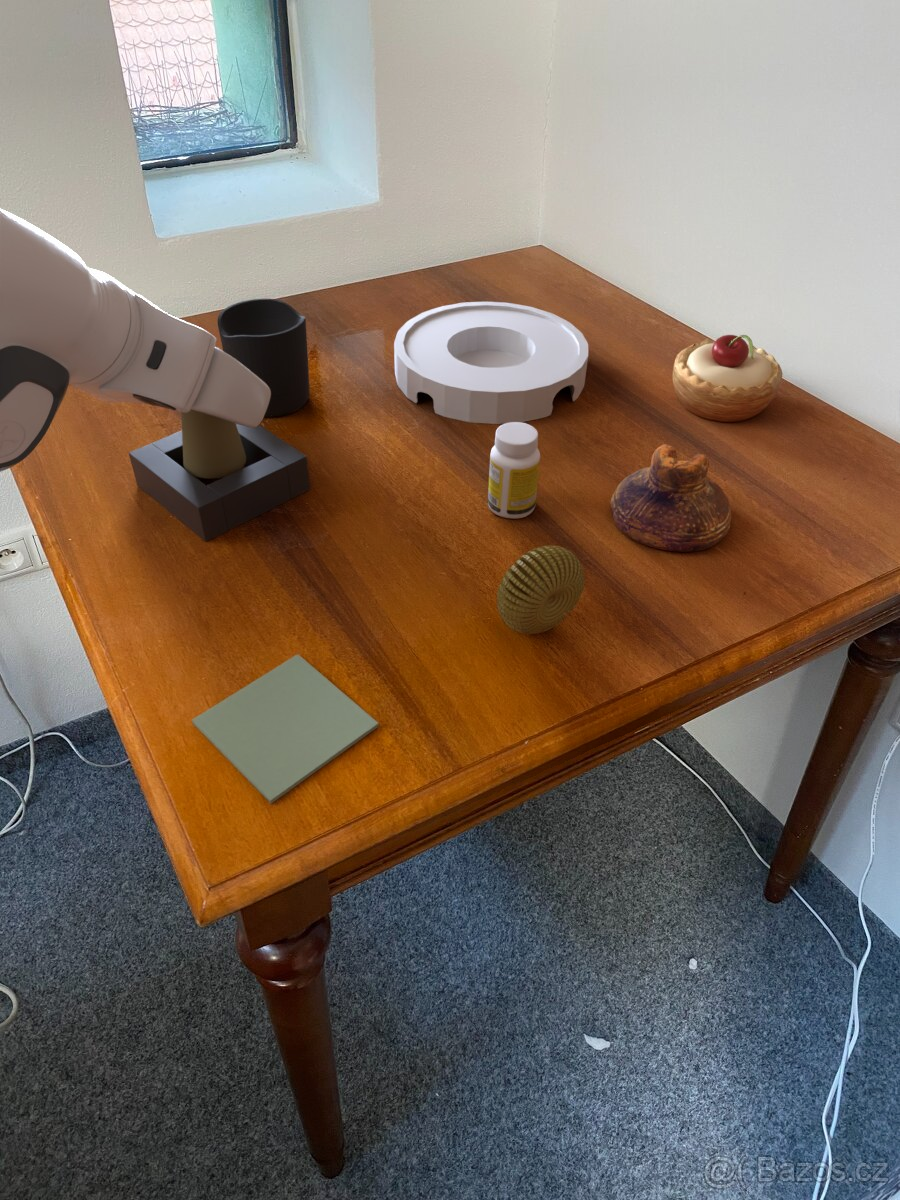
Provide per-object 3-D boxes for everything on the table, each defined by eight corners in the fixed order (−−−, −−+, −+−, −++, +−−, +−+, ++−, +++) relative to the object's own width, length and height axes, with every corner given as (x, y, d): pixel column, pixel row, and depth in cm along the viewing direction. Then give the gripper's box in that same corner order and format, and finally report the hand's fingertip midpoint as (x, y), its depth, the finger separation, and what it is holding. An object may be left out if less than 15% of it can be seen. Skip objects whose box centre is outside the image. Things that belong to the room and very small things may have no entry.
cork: (240, 479, 84) (223, 374, 76) (176, 477, 84) (154, 372, 76) (251, 445, 88) (236, 343, 81) (191, 443, 88) (171, 341, 81)
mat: (271, 804, 61) (270, 800, 61) (192, 723, 66) (191, 719, 66) (379, 726, 66) (378, 723, 66) (298, 657, 71) (297, 653, 71)
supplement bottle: (542, 499, 88) (550, 427, 82) (524, 525, 85) (532, 451, 79) (498, 487, 90) (503, 414, 84) (479, 512, 86) (483, 438, 81)
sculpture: (558, 594, 78) (568, 523, 72) (587, 621, 75) (600, 549, 70) (484, 628, 74) (489, 556, 69) (513, 657, 72) (520, 584, 66)
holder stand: (205, 542, 82) (198, 507, 79) (137, 486, 88) (128, 452, 86) (310, 489, 89) (307, 456, 86) (239, 440, 95) (234, 408, 92)
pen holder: (320, 381, 105) (313, 301, 98) (303, 423, 98) (294, 339, 91) (243, 376, 105) (231, 296, 98) (220, 417, 98) (205, 333, 92)
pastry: (717, 368, 109) (734, 299, 103) (792, 409, 102) (815, 338, 96) (646, 394, 104) (660, 323, 98) (721, 439, 97) (740, 366, 91)
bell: (584, 509, 87) (593, 447, 82) (666, 469, 92) (680, 408, 87) (672, 572, 80) (689, 508, 75) (755, 524, 86) (776, 462, 81)
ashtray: (571, 331, 116) (575, 301, 113) (598, 424, 99) (603, 392, 96) (396, 330, 115) (395, 300, 112) (393, 423, 98) (392, 392, 95)
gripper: (1, 348, 73) (114, 402, 86) (194, 413, 66) (285, 461, 79) (28, 277, 73) (137, 342, 86) (224, 335, 66) (309, 396, 79)
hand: (209, 400), depth 82 cm, fingers closed on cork, 5 cm apart
